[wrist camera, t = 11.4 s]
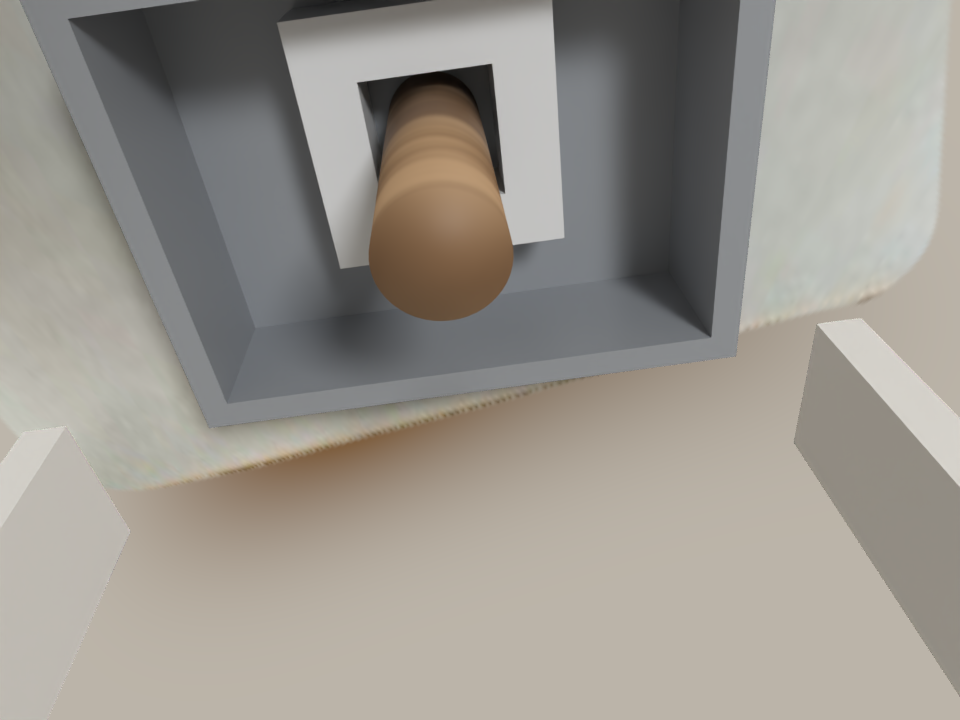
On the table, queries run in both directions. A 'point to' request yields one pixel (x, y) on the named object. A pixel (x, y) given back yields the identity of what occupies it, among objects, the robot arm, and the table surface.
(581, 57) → the crate
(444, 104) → the peg
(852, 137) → the table surface
